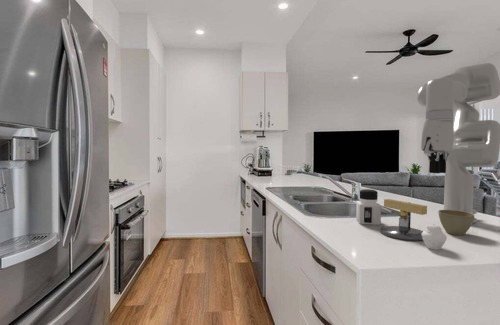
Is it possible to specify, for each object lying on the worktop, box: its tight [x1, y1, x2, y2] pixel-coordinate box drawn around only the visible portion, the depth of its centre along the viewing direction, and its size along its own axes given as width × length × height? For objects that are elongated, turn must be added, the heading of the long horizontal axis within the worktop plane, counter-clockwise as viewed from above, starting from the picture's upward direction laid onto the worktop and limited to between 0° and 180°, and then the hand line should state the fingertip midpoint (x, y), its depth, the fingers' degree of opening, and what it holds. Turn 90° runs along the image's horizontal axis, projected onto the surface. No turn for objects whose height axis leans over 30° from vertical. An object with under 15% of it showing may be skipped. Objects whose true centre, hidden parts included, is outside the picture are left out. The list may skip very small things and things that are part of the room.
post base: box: [380, 201, 424, 242], centre depth 93 cm, size 14×14×10 cm
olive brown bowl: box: [437, 209, 475, 236], centre depth 95 cm, size 10×10×7 cm
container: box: [355, 188, 382, 226], centre depth 110 cm, size 8×8×13 cm
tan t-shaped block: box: [383, 198, 428, 218], centre depth 93 cm, size 2×14×5 cm, turn 24°
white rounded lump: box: [422, 224, 447, 251], centre depth 80 cm, size 6×6×7 cm
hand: (437, 172), depth 92 cm, fingers closed
